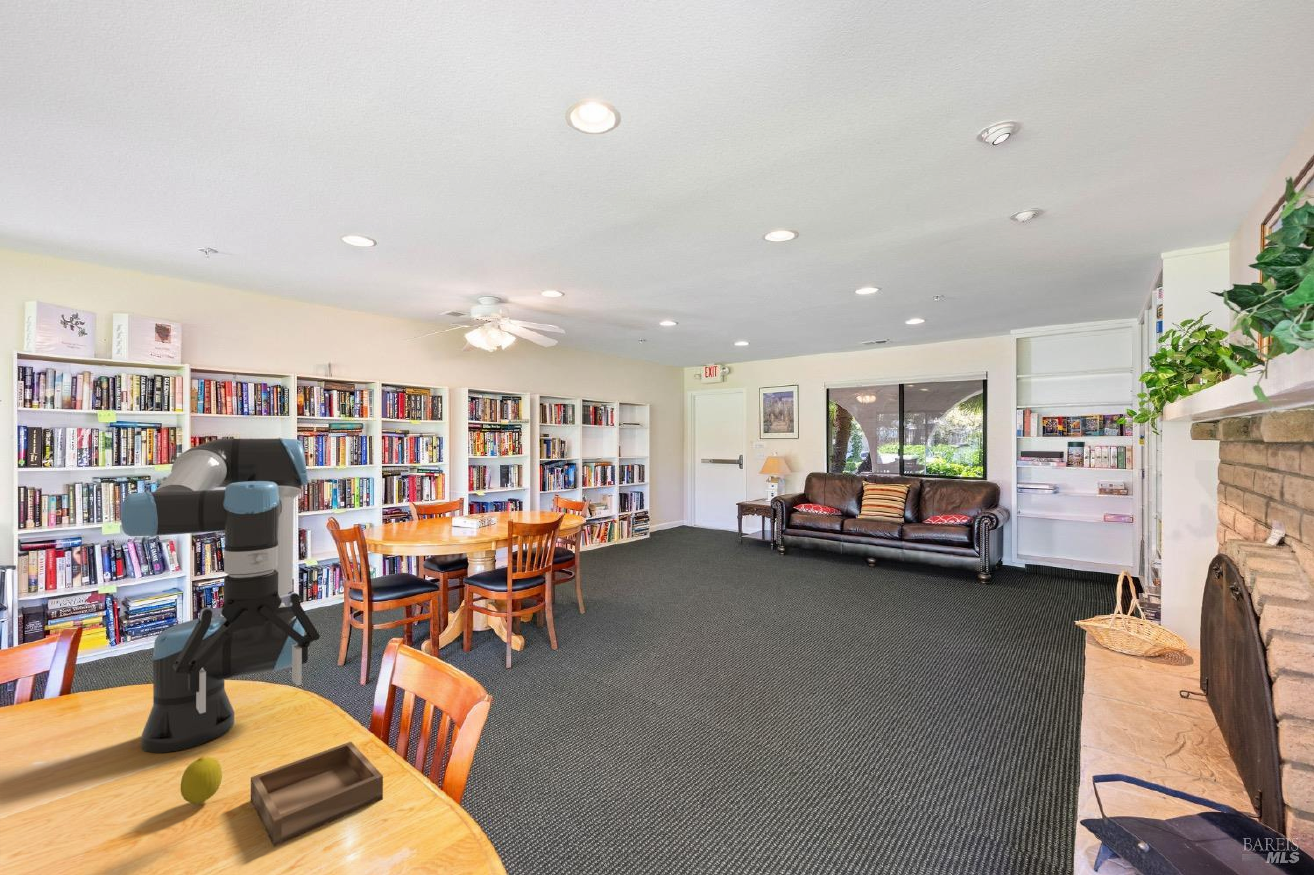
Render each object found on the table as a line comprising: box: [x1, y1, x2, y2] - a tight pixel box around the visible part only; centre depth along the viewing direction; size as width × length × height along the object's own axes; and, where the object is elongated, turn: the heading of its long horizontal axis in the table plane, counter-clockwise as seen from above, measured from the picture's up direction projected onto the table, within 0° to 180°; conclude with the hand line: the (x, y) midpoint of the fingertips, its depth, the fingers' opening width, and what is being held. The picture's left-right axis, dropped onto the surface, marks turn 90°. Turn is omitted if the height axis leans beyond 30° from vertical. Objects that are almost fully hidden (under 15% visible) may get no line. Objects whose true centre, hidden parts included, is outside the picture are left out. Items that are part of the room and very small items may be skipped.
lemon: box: [180, 755, 223, 805], centre depth 96 cm, size 6×6×8 cm
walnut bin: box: [250, 741, 384, 848], centre depth 97 cm, size 16×16×4 cm
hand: (251, 695), depth 96 cm, fingers open, 13 cm apart
